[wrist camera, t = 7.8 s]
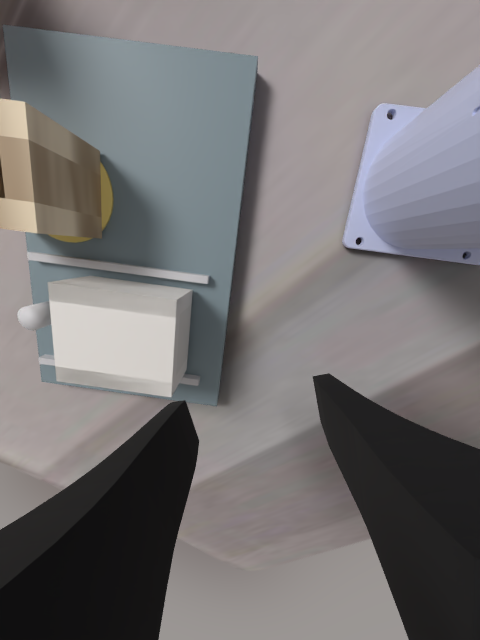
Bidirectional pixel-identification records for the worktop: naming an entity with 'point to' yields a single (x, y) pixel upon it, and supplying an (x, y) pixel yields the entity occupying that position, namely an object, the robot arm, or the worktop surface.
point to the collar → (46, 176)
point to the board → (145, 176)
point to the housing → (120, 334)
